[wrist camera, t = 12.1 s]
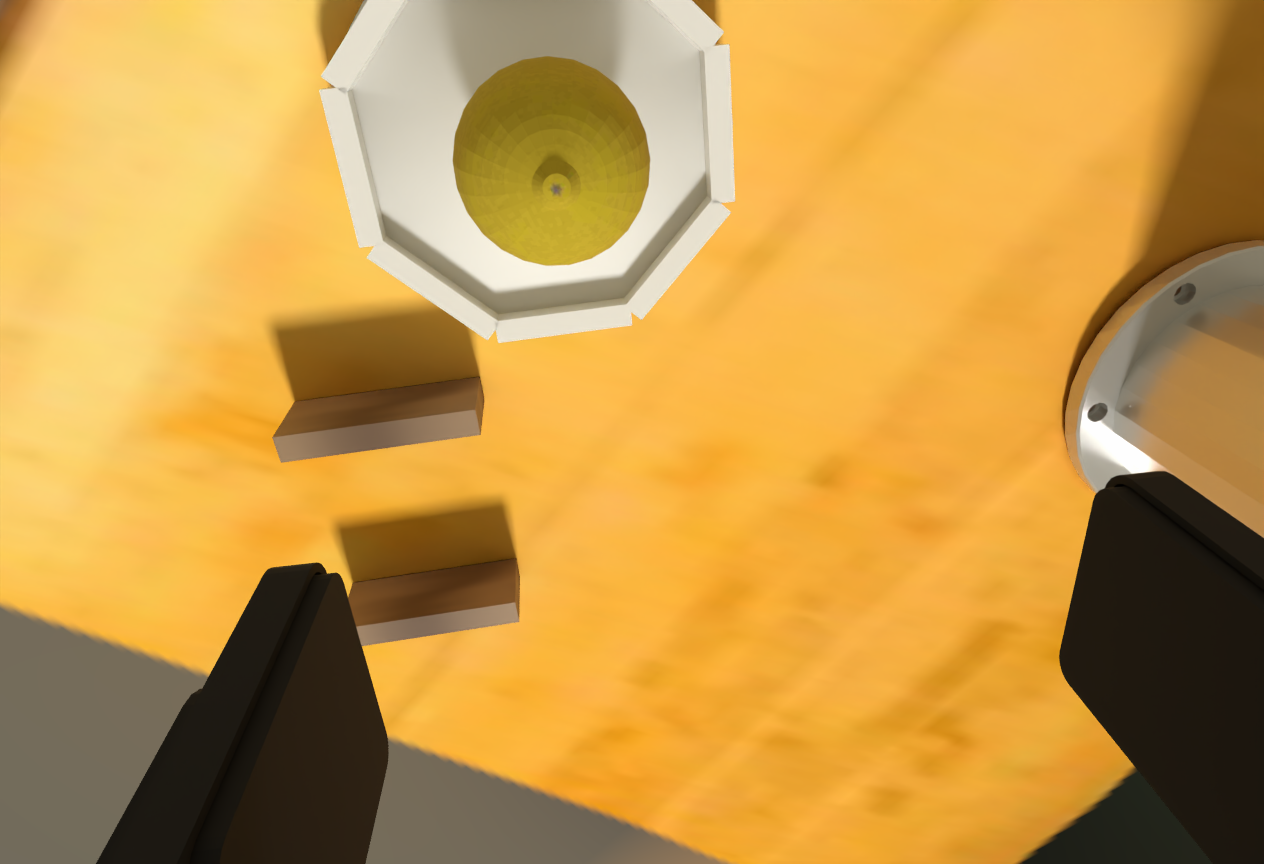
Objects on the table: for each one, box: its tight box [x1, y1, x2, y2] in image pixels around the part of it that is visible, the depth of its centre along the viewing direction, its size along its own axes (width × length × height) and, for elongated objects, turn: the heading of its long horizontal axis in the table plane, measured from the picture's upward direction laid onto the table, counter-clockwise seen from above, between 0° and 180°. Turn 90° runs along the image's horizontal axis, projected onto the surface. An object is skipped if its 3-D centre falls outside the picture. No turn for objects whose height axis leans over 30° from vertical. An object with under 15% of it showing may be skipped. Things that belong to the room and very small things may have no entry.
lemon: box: [453, 56, 650, 266], centre depth 23 cm, size 6×6×8 cm
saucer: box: [319, 0, 735, 343], centre depth 26 cm, size 13×13×2 cm
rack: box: [272, 377, 520, 646], centre depth 31 cm, size 7×10×3 cm
